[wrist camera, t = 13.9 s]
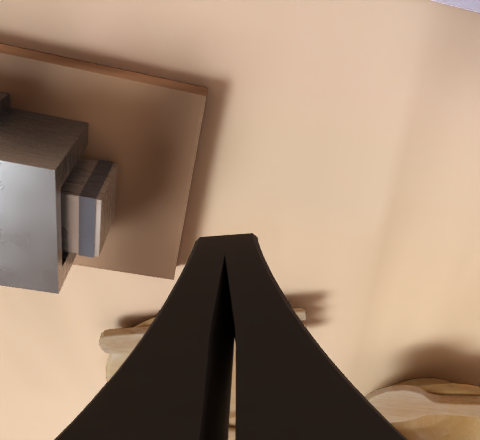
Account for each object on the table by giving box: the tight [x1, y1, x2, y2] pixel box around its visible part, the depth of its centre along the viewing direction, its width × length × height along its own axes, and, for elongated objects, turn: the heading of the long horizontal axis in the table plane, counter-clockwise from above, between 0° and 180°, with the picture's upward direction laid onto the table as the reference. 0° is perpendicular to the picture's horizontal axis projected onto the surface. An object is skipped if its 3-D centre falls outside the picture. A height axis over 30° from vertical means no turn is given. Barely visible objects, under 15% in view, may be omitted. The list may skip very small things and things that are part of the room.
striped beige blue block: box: [60, 158, 118, 258], centre depth 17 cm, size 7×3×3 cm, turn 77°
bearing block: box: [0, 108, 88, 294], centre depth 17 cm, size 3×6×4 cm, turn 167°
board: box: [0, 43, 208, 280], centre depth 19 cm, size 15×10×1 cm
